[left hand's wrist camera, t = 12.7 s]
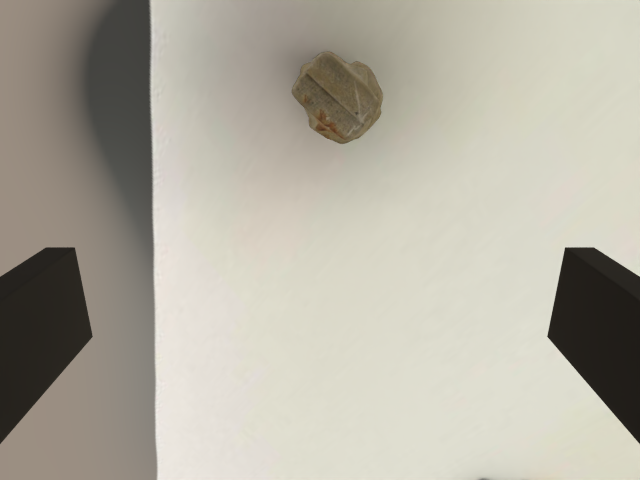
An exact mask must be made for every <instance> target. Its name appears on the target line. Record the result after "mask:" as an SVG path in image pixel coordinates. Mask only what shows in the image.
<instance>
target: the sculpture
mask: <svg viewBox="0 0 640 480" xmlns="http://www.w3.org/2000/svg"><path fill="white" fill-rule="evenodd" d="M292 94H293V96H294V97H295V98H296V99H297V101H298V102H299V103H300V104H301V105H302V106H303V107H304V108H305V110H306V112H307V114H308V117H309V126H310V127H311V128H312V129H313V130H314V131H316V132H318V133H319V134H321V135H323V136H324V137H325V138H327V139H330V140H333V141H335V142H338V143H340V144H344V143H347V142H350V141H352V140H354V139H357V138H359V137H360V136H362V135H363V134H364V133H365V132H366V131H367V130H368V129H369V128H370V127H371V126H372V125H373V124H374V123H375V122H376V121H377V119H378V118H379V117H380V114H381V110H380V107H381V103H382V99H383V94H382V91H381V88H380V87H379V84H378V82H377V80H376V78H375V75H374V74H373V72H372V70H371V69H370V68H369V67H368V66H366V65H365V64H363V63H361V62H358V61H356V62H354V63H352V64H348V63H346V62H344V61H343V60H342V59H341V58H339V57H338V56H336V55H335V54H334V53H332V52H323V53H321V54H319V55H318V56H317V57H315V58H314V59H313V61H312V62H309V63H306V64H304V65H303V66H302V68H301V72H300V76H299V77H298V79H297V81H296V83H295V84H294V86H293V88H292Z"/></svg>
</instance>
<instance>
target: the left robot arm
mask: <svg viewBox="0 0 640 480" xmlns="http://www.w3.org/2000/svg"><path fill="white" fill-rule="evenodd" d="M547 337H548V338H549V339H550V340H551V341H552V343H553V344H554V345H555V346H556V347H557V348H558V350H559V351H560V352H561V353H562V354H563V355H564V356H565V358H566V359H567V360H568V361H569V362H570V363H571V365H572V366H573V367H574V368H575V369H576V370H577V372H578V373H579V374H580V375H581V376H582V377H583V379H584V380H585V381H586V382H587V383H588V384H589V386H590V387H591V388H592V389H593V390H594V391H595V392H596V394H597V395H598V396H599V397H600V398H601V399H602V401H603V402H604V403H605V404H606V405H607V406H608V408H609V409H610V410H611V411H612V412H613V413H614V415H615V416H616V417H617V418H618V419H619V420H620V421H621V423H622V424H623V425H624V426H625V427H626V428H627V430H628V431H629V432H630V433H631V434H632V435H633V437H634V438H635V439H636V440H637V441H638V442H639V444H640V277H639V276H638V275H636V274H634V273H633V272H631V271H630V270H628V269H627V268H625V267H624V266H622V265H620V264H619V263H617V262H616V261H614V260H613V259H611V258H609V257H608V256H606V255H605V254H603V253H602V252H600V251H598V250H597V249H595V248H565V251H564V256H563V261H562V266H561V271H560V276H559V281H558V286H557V291H556V296H555V301H554V306H553V311H552V316H551V321H550V326H549V331H548V336H547ZM91 338H92V331H91V326H90V321H89V316H88V311H87V306H86V301H85V296H84V292H83V286H82V281H81V276H80V271H79V266H78V261H77V256H76V251H75V248H45V249H43V250H42V251H40V252H39V253H37V254H35V255H34V256H32V257H31V258H29V259H28V260H26V261H24V262H23V263H21V264H20V265H18V266H17V267H15V268H13V269H12V270H10V271H9V272H7V273H6V274H4V275H2V276H1V277H0V444H1V442H2V441H3V440H4V439H5V438H6V437H7V435H8V434H9V433H10V432H11V431H12V430H13V428H14V427H15V426H16V425H17V424H18V423H19V421H20V420H21V419H22V418H23V417H24V416H25V414H26V413H27V412H28V411H29V410H30V409H31V408H32V406H33V405H34V404H35V403H36V402H37V401H38V399H39V398H40V397H41V396H42V395H43V394H44V392H45V391H46V390H47V389H48V388H49V387H50V385H51V384H52V383H53V382H54V381H55V380H56V379H57V377H58V376H59V375H60V374H61V373H62V372H63V370H64V369H65V368H66V367H67V366H68V365H69V363H70V362H71V361H72V360H73V359H74V358H75V356H76V355H77V354H78V353H79V352H80V351H81V350H82V348H83V347H84V346H85V345H86V344H87V343H88V341H89V340H90V339H91Z"/></svg>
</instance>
